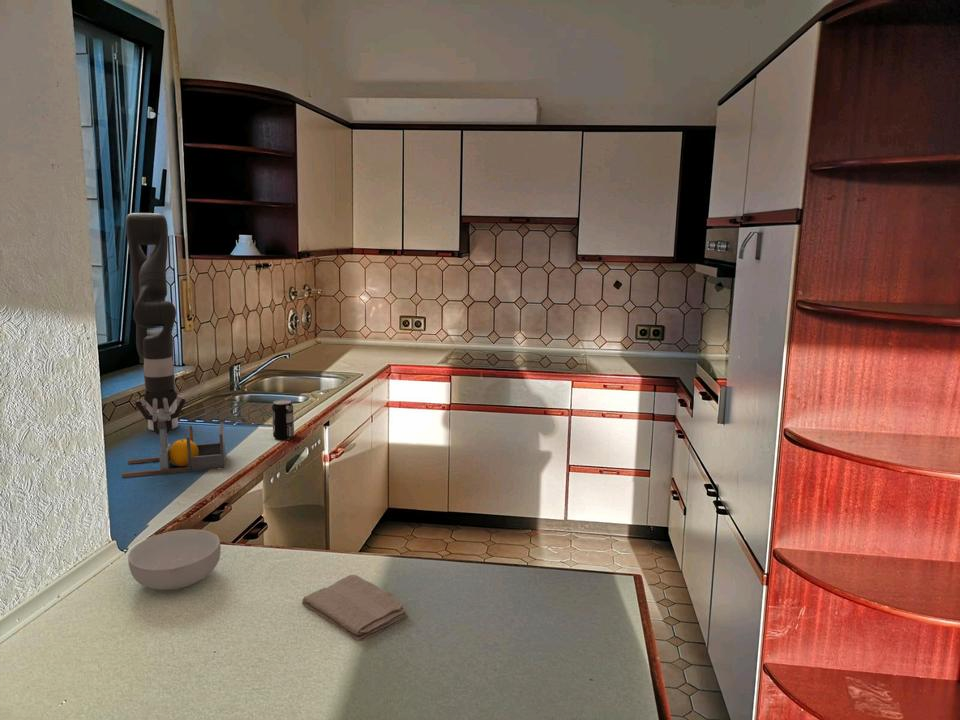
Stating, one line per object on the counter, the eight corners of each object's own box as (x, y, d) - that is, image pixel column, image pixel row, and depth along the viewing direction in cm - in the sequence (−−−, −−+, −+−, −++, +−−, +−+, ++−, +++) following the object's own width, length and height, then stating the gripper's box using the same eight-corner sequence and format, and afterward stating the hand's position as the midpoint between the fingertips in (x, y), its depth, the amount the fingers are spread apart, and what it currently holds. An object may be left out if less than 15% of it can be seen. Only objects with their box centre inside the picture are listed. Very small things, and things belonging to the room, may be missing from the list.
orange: (190, 470, 201) (188, 444, 200) (164, 468, 202) (162, 443, 201) (204, 460, 209) (203, 436, 208) (179, 459, 210) (177, 434, 209)
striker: (163, 460, 208) (160, 415, 205) (171, 460, 209) (167, 415, 206) (160, 471, 199) (156, 424, 197) (168, 470, 200) (164, 423, 197)
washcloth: (360, 646, 121) (359, 630, 121) (299, 607, 133) (298, 592, 133) (412, 618, 130) (411, 602, 130) (350, 584, 142) (350, 569, 141)
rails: (128, 463, 206) (128, 459, 206) (191, 457, 212) (191, 454, 211) (121, 477, 195) (121, 474, 195) (188, 471, 200) (188, 468, 200)
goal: (191, 457, 212) (189, 425, 210) (225, 454, 215) (223, 422, 213) (188, 471, 200) (186, 437, 199) (224, 468, 203) (222, 434, 201)
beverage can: (271, 435, 233) (269, 400, 231) (291, 433, 236) (290, 398, 234) (275, 441, 228) (274, 405, 225) (296, 438, 231) (295, 402, 228)
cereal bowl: (150, 560, 149) (148, 529, 148) (232, 559, 150) (230, 527, 149) (115, 604, 133) (112, 568, 131) (207, 602, 134) (205, 567, 132)
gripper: (187, 369, 204) (190, 427, 208) (133, 371, 200) (138, 430, 204) (184, 374, 197) (188, 435, 201) (129, 377, 193) (134, 438, 197)
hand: (163, 432), depth 202 cm, fingers closed on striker, 2 cm apart
